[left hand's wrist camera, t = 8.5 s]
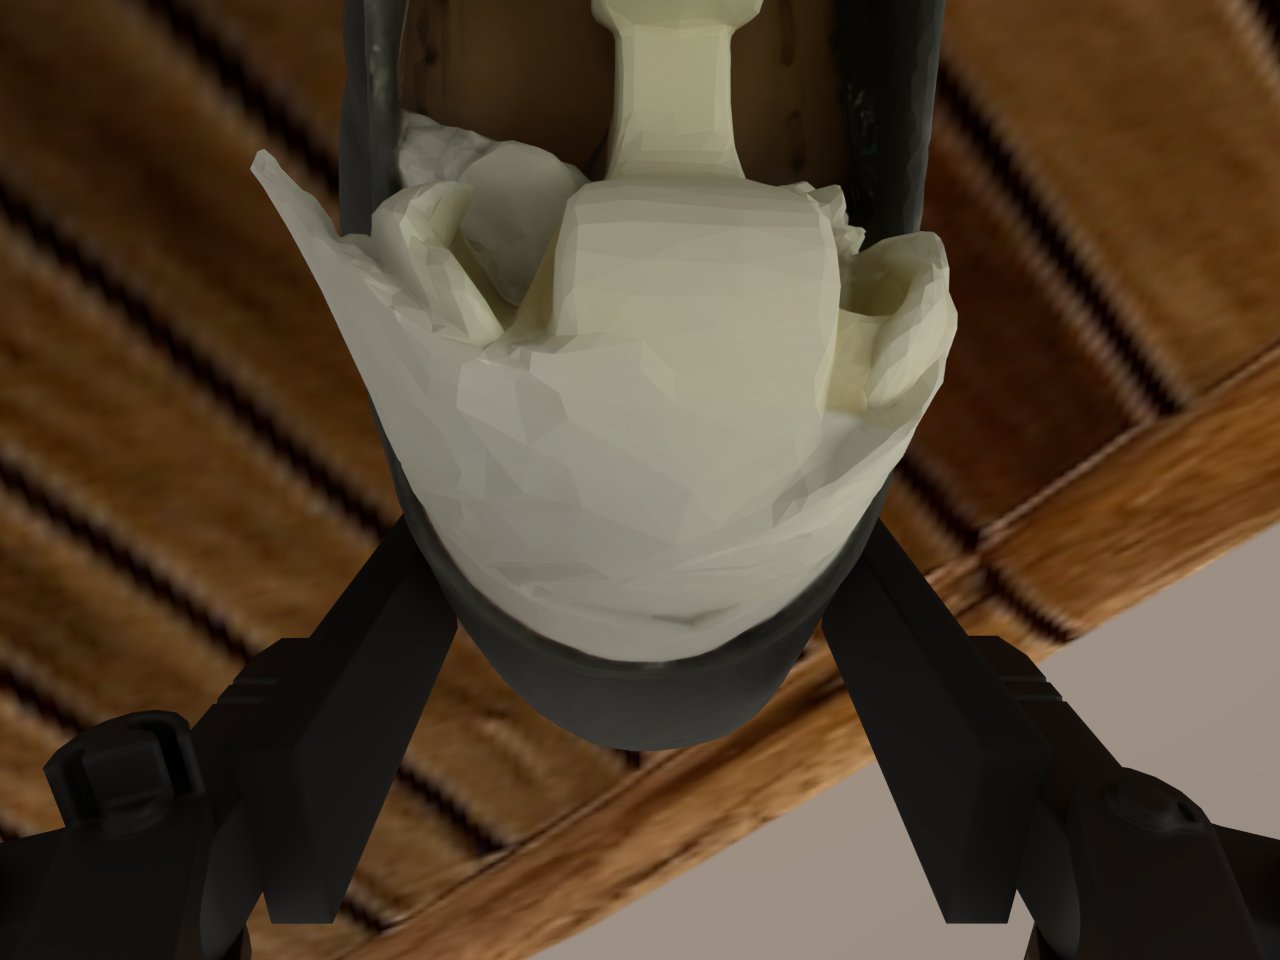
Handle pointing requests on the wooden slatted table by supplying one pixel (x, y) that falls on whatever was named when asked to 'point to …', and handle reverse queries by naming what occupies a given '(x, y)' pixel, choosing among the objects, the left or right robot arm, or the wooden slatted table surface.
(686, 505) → the ballet flat
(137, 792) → the left robot arm
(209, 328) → the wooden slatted table surface
